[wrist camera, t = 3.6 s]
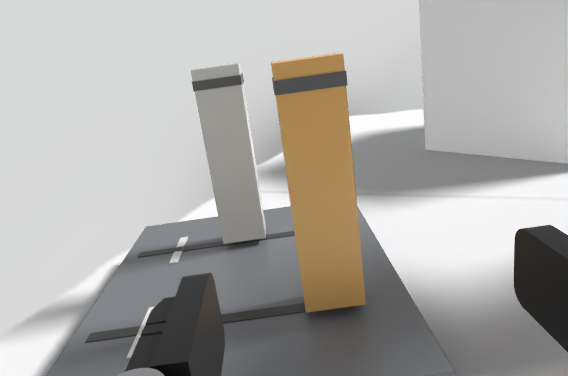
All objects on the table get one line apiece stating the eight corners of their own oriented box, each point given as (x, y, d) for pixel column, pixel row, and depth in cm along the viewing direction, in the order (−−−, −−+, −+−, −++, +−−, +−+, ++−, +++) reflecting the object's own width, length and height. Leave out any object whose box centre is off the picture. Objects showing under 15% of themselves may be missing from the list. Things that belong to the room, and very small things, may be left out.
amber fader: (356, 279, 25) (335, 53, 21) (367, 304, 22) (344, 53, 19) (301, 286, 25) (269, 62, 21) (305, 313, 22) (270, 64, 19)
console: (355, 229, 40) (352, 197, 39) (456, 430, 19) (454, 369, 18) (153, 257, 40) (146, 226, 39) (29, 490, 19) (6, 432, 18)
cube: (511, 117, 77) (513, -39, 70) (670, 122, 61) (695, -81, 54) (425, 152, 63) (417, -39, 56) (604, 171, 47) (625, -96, 39)
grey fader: (266, 224, 34) (240, 62, 31) (266, 238, 32) (238, 63, 28) (225, 230, 34) (195, 68, 31) (223, 244, 32) (189, 70, 28)
